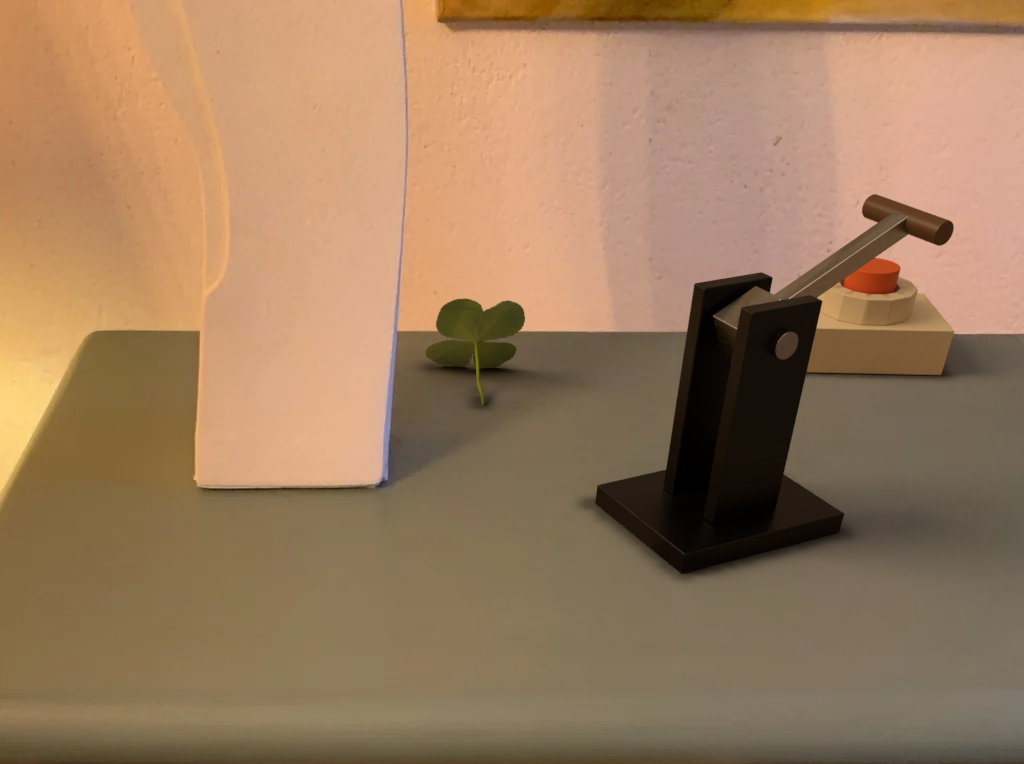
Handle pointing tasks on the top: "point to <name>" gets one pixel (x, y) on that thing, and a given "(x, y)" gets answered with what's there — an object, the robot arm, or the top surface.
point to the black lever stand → (730, 439)
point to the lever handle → (842, 259)
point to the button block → (879, 333)
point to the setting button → (874, 277)
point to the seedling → (476, 334)
